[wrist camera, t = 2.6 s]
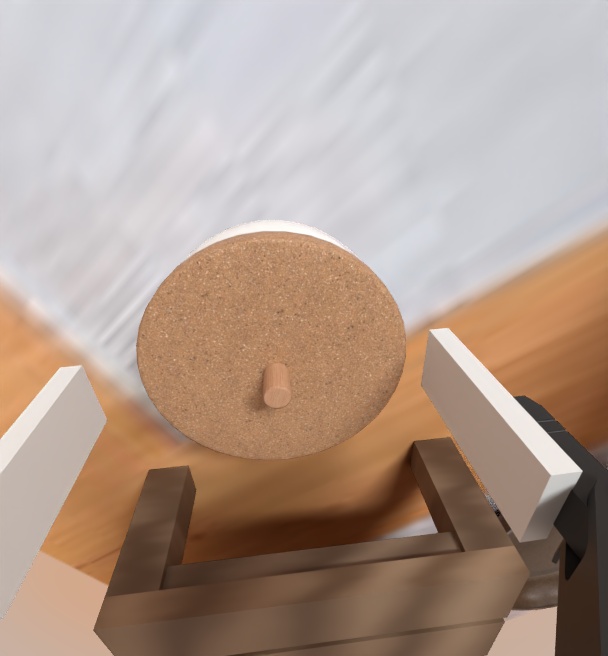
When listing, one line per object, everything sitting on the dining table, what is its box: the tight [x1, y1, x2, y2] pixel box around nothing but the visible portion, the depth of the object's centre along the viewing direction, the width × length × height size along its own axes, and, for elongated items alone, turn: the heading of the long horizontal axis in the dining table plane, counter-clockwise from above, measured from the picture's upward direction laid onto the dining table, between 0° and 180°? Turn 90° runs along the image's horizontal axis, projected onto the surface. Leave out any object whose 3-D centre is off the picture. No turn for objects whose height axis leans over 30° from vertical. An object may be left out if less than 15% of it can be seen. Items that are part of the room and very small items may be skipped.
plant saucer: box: [498, 514, 563, 610], centre depth 36 cm, size 21×21×3 cm
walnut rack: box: [94, 437, 530, 656], centre depth 29 cm, size 24×24×10 cm
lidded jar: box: [136, 220, 406, 460], centre depth 17 cm, size 11×11×9 cm
